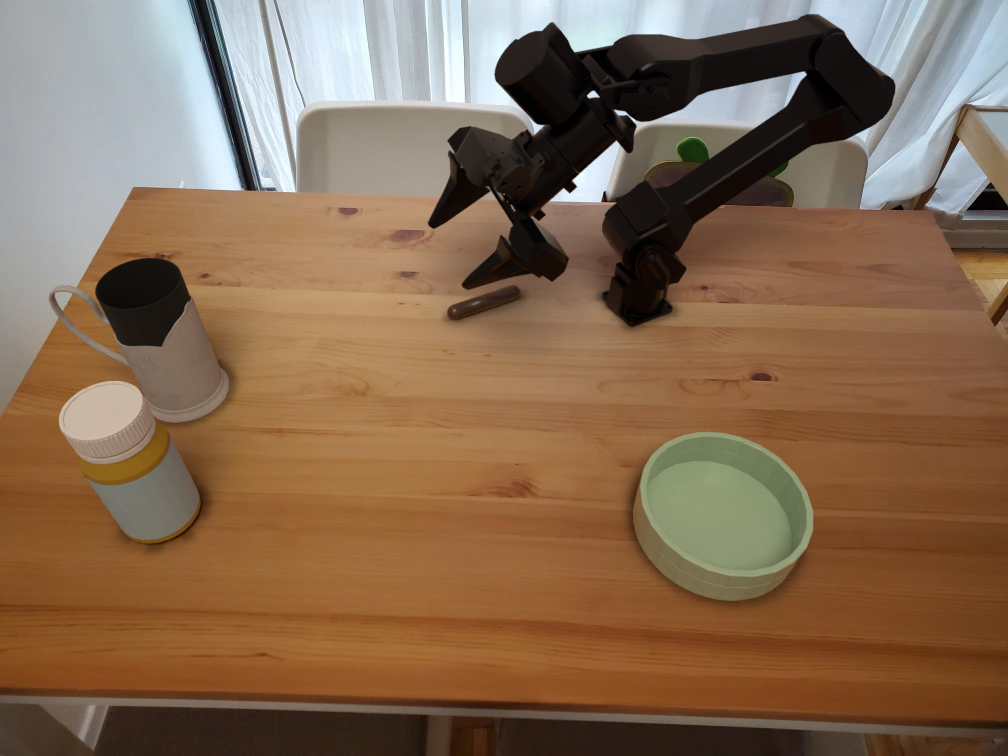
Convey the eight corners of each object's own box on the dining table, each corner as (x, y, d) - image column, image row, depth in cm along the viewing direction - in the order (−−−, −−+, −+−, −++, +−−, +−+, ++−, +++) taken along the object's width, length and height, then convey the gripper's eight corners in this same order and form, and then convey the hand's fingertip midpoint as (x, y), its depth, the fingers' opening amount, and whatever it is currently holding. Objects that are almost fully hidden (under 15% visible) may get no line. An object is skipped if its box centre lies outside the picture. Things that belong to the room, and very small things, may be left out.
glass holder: (212, 426, 74) (165, 318, 63) (78, 414, 75) (9, 306, 64) (240, 365, 80) (202, 256, 69) (116, 355, 81) (59, 246, 70)
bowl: (722, 438, 75) (734, 410, 71) (832, 555, 66) (850, 529, 63) (601, 496, 70) (607, 468, 66) (702, 631, 61) (715, 607, 57)
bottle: (134, 484, 69) (69, 378, 58) (209, 480, 70) (158, 374, 59) (113, 549, 64) (38, 447, 53) (194, 544, 65) (136, 442, 54)
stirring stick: (515, 291, 90) (516, 280, 89) (523, 299, 89) (523, 288, 88) (445, 315, 87) (444, 303, 85) (451, 324, 86) (451, 313, 84)
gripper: (475, 49, 68) (363, 164, 73) (566, 175, 59) (432, 296, 64) (534, 110, 77) (431, 209, 82) (621, 228, 68) (499, 330, 73)
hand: (446, 256), depth 75 cm, fingers open, 9 cm apart
